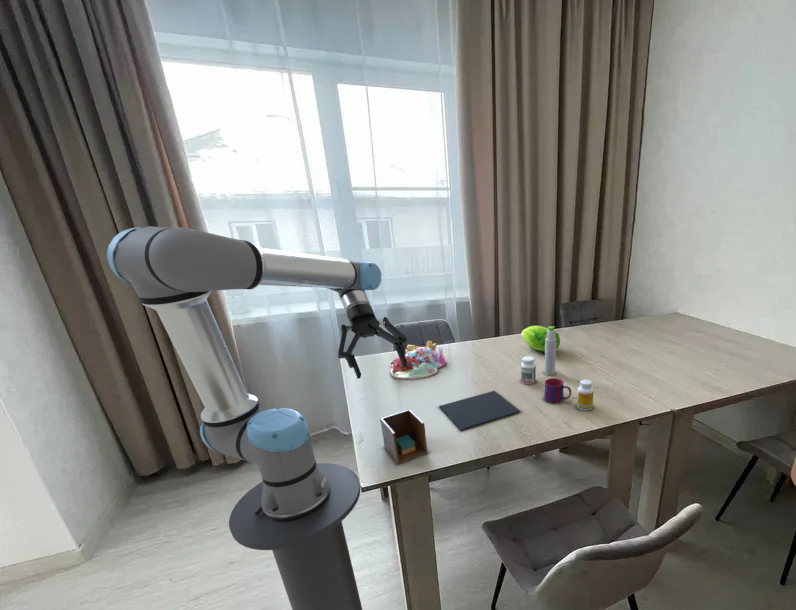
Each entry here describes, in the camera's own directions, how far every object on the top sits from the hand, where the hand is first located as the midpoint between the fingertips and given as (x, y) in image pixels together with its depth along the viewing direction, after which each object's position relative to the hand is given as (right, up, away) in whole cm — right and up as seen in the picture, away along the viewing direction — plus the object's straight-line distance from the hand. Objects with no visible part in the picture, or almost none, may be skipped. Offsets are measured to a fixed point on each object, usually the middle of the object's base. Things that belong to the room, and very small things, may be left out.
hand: (383, 370), depth 115 cm
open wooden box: (+6, -23, +1) cm, 24 cm away
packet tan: (+6, -23, 0) cm, 24 cm away
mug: (+54, -11, +28) cm, 62 cm away
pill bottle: (+44, -5, +43) cm, 62 cm away
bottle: (+53, -2, +50) cm, 73 cm away
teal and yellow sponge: (+6, -21, 0) cm, 22 cm away
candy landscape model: (-3, +1, +58) cm, 58 cm away
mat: (+26, -14, +22) cm, 37 cm away
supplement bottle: (+63, -13, +23) cm, 68 cm away
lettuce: (+51, +9, +75) cm, 91 cm away
